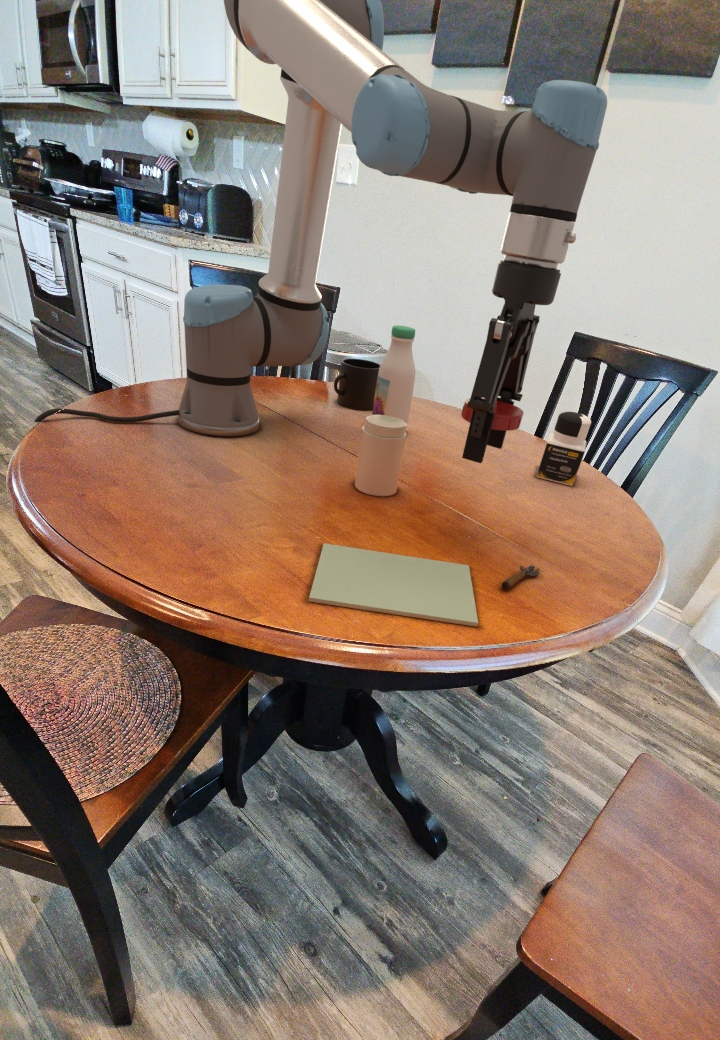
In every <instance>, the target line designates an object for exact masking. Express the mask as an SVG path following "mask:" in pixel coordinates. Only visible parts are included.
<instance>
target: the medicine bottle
mask: <svg viewBox="0 0 720 1040" xmlns="http://www.w3.org/2000/svg"><path fill="white" fill-rule="evenodd" d="M591 425H592V419H591V418H589V417H588V416H587V415H585V414H583V413H580V412H575V411H564V412H560V413H559V414H558V417H557V420H556V423H555V425H554V428H553V432H550V433H549V435H548V438H547V440H546V444H545V447H544V450H543V453H542V456H541V460H540V462H539V465H538V469H537V472H536V475H535V476H536V478H538V479H541V480H545V481H550V482H554V483H558V484H562V485H565V486H570V487H572V486H574V484H575V481H576V478H577V475H578V472H579V469H580V466H581V464H582V462H583V459H584V456H585V453H586V449H587V448H586V447H587V440H586V438H587V436H588V433H589V430H590V427H591Z"/></svg>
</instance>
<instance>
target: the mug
mask: <svg viewBox="0 0 720 1040" xmlns="http://www.w3.org/2000/svg"><path fill="white" fill-rule="evenodd" d="M380 365H381V363H378V362H375V361H371V360H369V359H368V360H367V359H361V358H344V359H342V360H341V362H340V372H339V374H338V375H337V376H336V377H335V379H334V382H333V390H334V392H335V393H336V395H337V403H338V404H339V405H341V406H343V407H345V408H348V409H352V410H357V411H358V410H359V411H370V410H373V405H374V398H375V391H376V384H377V378H378V372H379V368H380Z"/></svg>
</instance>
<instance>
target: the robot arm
mask: <svg viewBox="0 0 720 1040" xmlns="http://www.w3.org/2000/svg"><path fill="white" fill-rule="evenodd" d="M223 5H224V10H225V14H226V18H227V19H228V20H227V21H228V23H229V26H230V28H231V30H232V32H233V34H234V36H235V37H236V38H237V39H238V41H239V42H240V43H241V45H243V47H244V48H245V49H246V50H248V52H250V53H251V54H252V55H253V56H254V57H255V58H256V59H257V60H259V61H260V62H262V63H263V64H268V65H277V66H278V67H279V68H280V82H281V83H282V85H283V88H284V90H285V93H286V95H287V98H288V99H287V109H286V117H285V126H284V132H283V133H284V135H283V141H282V142H283V143H282V150H281V162H280V169H279V177H278V186H277V196H276V203H275V211H274V219H273V230H272V238H271V247H270V255H269V263H268V264H269V265H268V271H267V273H266V274H265V275H264V276H262V277H261V278H260V279H259V281H258V287H257V293H256V295H253V293H252V290H251V289H250V288H249V287H247V286H243V285H238V284H222V283H221V284H205V285H200V286H196V287H193V288H191V289H190V290H188V291H187V293H186V294H185V296H184V301H183V302H184V306H183V319H182V321H183V324H184V325H183V326H184V327H183V328H184V341H185V342H184V344H185V365H186V382H185V386H184V388H183V389H184V390H183V392H182V395H181V400H180V404H179V407H178V409H175V410H168V411H162V412H156V413H155V412H154V413H150V414H145V415H140V416H113V415H107V414H103V413H99V412H96V411H86V410H78V409H71V408H51V409H48V410H46V411H43V412H42V413H40V414H38V416H37V417H36V418H35V419H34V423H41V422H42V421H44V420H45V419H47V418H48V417H50V416H53V415H61V414H62V415H63V414H64V415H72V416H80V417H88V418H96V419H101V420H103V421H107V422H113V423H137V422H144V421H151V420H155V419H160V418H169V417H174V416H175V417H176V416H178V423H179V425H180V426H182V427H183V428H184V429H187V430H188V431H191V432H193V433H198V434H201V435H207V436H214V437H230V438H231V437H242V436H248V435H250V434H253V433H255V432H257V431H258V430H259V429H260V415H259V411H258V407H257V404H256V401H255V397H254V394H253V389H252V387H251V373H252V367H255V368H256V367H257V368H258V367H291V368H295V367H299V366H307V365H311V364H312V363H314V362H315V361H316V360H318V359H319V358H320V356H321V355H322V353H323V352H324V350H325V348H326V345H327V342H328V338H329V329H330V324H329V322H328V318H329V315H328V312H327V309H326V307H325V306H324V304H323V303H322V296H323V295H322V294H321V292H320V290H319V288H318V287H317V284H316V282H317V276H318V272H319V270H318V269H319V264H320V259H321V258H320V257H321V254H322V253H321V252H322V247H323V242H324V241H323V240H324V235H325V229H326V224H327V223H326V222H327V217H328V210H329V204H330V198H331V193H332V187H333V181H334V175H335V168H336V162H337V156H338V150H339V145H340V140H341V132H342V126H343V127H344V128H345V129H346V130H347V131H349V133H351V142H352V144H353V145H354V147H355V155H356V156H357V158H358V160H359V161H360V162H361V163H362V164H363V165H364V166H366V167H367V168H369V169H372V170H375V171H379V172H380V173H382V174H384V175H386V176H391V177H401V178H407V179H413V180H418V181H424V182H428V183H434V184H438V185H442V186H447V187H449V188H451V189H453V190H457V191H459V192H462V193H469V194H472V195H475V194H487V195H489V194H490V195H499V196H500V195H502V196H509V197H512V199H511V206H510V210H509V213H508V217H507V220H506V225H505V230H504V234H503V239H502V242H501V247H500V253H501V255H504V257H503V259H500V261H499V262H497V266H496V271H495V276H494V280H493V284H492V289H491V292H492V294H493V296H494V297H496V298H500V299H503V300H504V304H503V307H502V308H501V312H500V314H498V315H497V316H496V317H497V318H494V317H492V318H491V319H490V321H489V323H488V330H487V335H486V341H485V344H484V348H483V351H482V355H481V359H480V361H479V366H478V369H477V373H476V376H475V381H474V384H473V387H472V391H471V395H470V398H469V399H470V400H469V402H468V403H467V407H468V408H471V409H473V413H472V418H471V422H469V426H468V431H467V435H466V440H465V443H464V448H463V452H462V456H461V458H462V459H464V460H468V461H471V462H475V463H477V464H482V463H483V462H484V457H485V455H486V454H485V453H486V450H487V446H489V447H493V448H496V449H498V450H499V449H500V450H501V449H503V445H504V442H505V438H506V434H507V431H504V430H494V429H491V427H492V423H493V419H494V415H495V413H494V412H492V411H493V410H494V406H495V403H496V400H498V401H502V402H506V403H509V404H512V405H514V406H515V401H516V402H521V400H522V398H523V394H521V392H522V390H523V385H524V382H525V377H526V373H527V368H528V365H529V361H530V355H531V353H532V352H531V351H532V347H533V343H534V338H535V335H536V331H537V328H538V325H539V323H540V318H541V317H540V315H536V314H535V311H536V305H537V306H551V304H553V303H554V300H555V297H556V293H557V290H558V287H559V283H560V279H561V276H562V273H561V270H560V269H559V268H558V265H559V264H560V265H561V264H563V263H564V262H565V260H566V257H567V253H568V250H569V244H574V243H575V242H576V240H577V233H574V232H573V230H574V228H575V223H576V221H577V218H578V211H579V209H580V205H581V201H582V198H583V195H584V193H585V188H586V186H587V183H588V179H589V176H590V173H591V169H592V166H593V163H594V160H595V157H596V155H597V150H598V149H599V147H600V143H599V142H600V137H601V133H602V129H603V125H604V119H605V116H606V113H607V108H608V96H607V94H606V92H605V91H604V90H603V89H602V88H601V87H599V86H596V85H594V84H591V83H587V82H583V81H577V80H568V79H554V80H553V79H552V80H549V81H545V82H543V83H542V84H541V85H540V86H539V87H538V89H537V91H536V94H535V99H534V102H533V104H532V105H531V109H528V110H524V111H523V110H522V111H521V110H520V111H519V110H499V109H495V108H491V107H487V106H484V105H481V104H479V103H475V102H472V101H471V100H467V99H464V98H460V97H458V96H456V95H451V94H447V93H445V92H442V91H439V90H436V89H434V88H432V87H430V86H428V85H426V84H424V83H422V82H421V81H420V80H418V79H417V78H416V77H415V76H414V75H412V73H410V72H409V71H407V70H405V68H404V67H403V66H402V65H400V64H399V63H398V62H396V61H395V60H394V59H393V58H392V57H390V56H389V55H388V54H387V53H386V52H384V51H383V49H384V39H385V17H384V10H383V5H382V2H381V0H223ZM482 398H485V399H482ZM62 409H64V410H62ZM59 410H61V411H60V412H58V411H59ZM56 412H57V413H56ZM54 413H56V414H54Z"/></svg>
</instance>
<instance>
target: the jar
mask: <svg viewBox="0 0 720 1040" xmlns="http://www.w3.org/2000/svg"><path fill="white" fill-rule="evenodd" d="M405 427H406V423H405V422H404V421H403V420H401V419H398V418H396V417H392V416H387V415H372V414H370V415H367V416H366V417H365V421H364V425H363V426H362V428H361V433H360V441H359V448H358V456H357V464H356V472H355V479H354V487H355V489H357V491H359V492H361V493H364V494H367V495H369V496H375V497H389V496H393V495H395V494H396V493H397V491H398V486H399V480H400V475H401V468H402V463H403V457H404V452H405V446H406V440H407V432H405Z"/></svg>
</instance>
